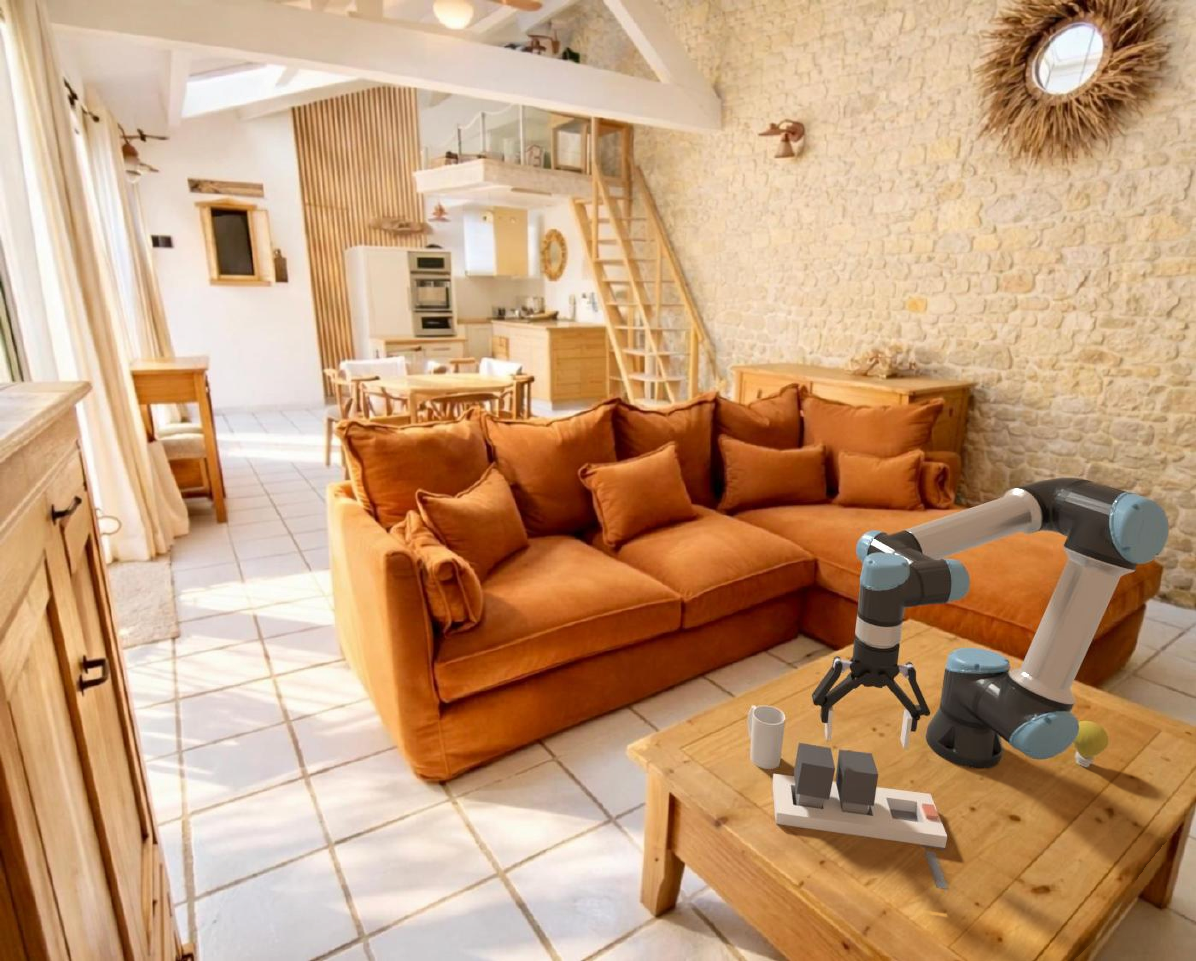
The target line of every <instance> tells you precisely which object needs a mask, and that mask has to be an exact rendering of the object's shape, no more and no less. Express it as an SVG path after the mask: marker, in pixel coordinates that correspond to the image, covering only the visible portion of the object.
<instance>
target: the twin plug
mask: <svg viewBox="0 0 1196 961" xmlns="http://www.w3.org/2000/svg"><path fill="white" fill-rule="evenodd" d="M797 745H798V746H797V750H796V752H797V753H796V758H795V764H794V769H793V776H794V779H795V786H796V791H795V797H794V798H795V805H797V806H804V807H811V808H819V809H822V805H823V799H828V800H829V798H830V793H831V788H832V782H833V781H834V776H835V773H836V767H835V761H834V756H833V753H832V748H831V747H826V746H820V745H815V744H814V745H813V744H808V743H802V742H798V744H797Z"/></svg>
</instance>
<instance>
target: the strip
mask: <svg viewBox="0 0 1196 961" xmlns="http://www.w3.org/2000/svg"><path fill="white" fill-rule="evenodd" d="M771 785H772V795H773V806H774V808H773V809H774V817H775V818H774V819H775V825H781V826H787V827H795V828H802V829H808V830H816V831H821V832H829V833H830V832H831V833H835V834H837V833H838V834H843V835H850V836H858V837H864V838H873V839H880V840H886V841H892V842H899V843H900V842H901V843H906V844H913V845H914V844H915V845H921V846H922V848H923V847H924V848H930V849H936V850H942V851H946V846H947V841H948V834H947V832H946V829H945V827H944V825H943V822H942V820H941V817H940V814H939V812H938V810H937V807H936V804H935V801H934V799H933V798H932V795H931V793H923V792H918V791H917V792H916V791H911V790H909V791H908V790H903V789H902V790H901V789H893V788H886V787H878V786H877V788H876V794H875V801H874V806H868V809H867V815H863V814H855V813H848V812H842V808H841V804H840V799H839V794H838V790H837V785H836V781H835V780H833V782H832V788H831V793H830V798H829V800H828V799H823V805H822V809H819V808H811V807H804V806H797V805H795V798H794V797H795V791H796V786H795V779H794V775H788V774H787V775H786V774H780V773H779V774H778V773H772V784H771Z"/></svg>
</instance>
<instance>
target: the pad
mask: <svg viewBox="0 0 1196 961" xmlns="http://www.w3.org/2000/svg"><path fill="white" fill-rule="evenodd" d="M923 852H924V855H925V859H926V860H927V863H928V866H929V869H930V873H931V875H932V878H933V881H934V883H935V887H936V888H939V889H944V890H948V889H949V887H948V884H947V881H946V880H945V877H944V873H943V872H942V871H943V870H942V868H941V865H940V862H939V860H938V857H937V855H936V852H935V851H928V850H924V851H923Z"/></svg>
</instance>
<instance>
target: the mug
mask: <svg viewBox="0 0 1196 961" xmlns="http://www.w3.org/2000/svg"><path fill="white" fill-rule="evenodd" d="M785 724H786V715H785V713H784V712H783V711H782V710H781V709H780V708H779V707H775V706H772V705H765V704H764V705H757V706H756V705H755V704H753V705H751V706H750V709H749V712H748V713H747V730H748V732H747V733H748V737H749V739H750V751H749V752H750V754H749V755H750V756H749V757H750V758H749V759H750V761H751V763H752V764H753V765H755V766H757V767H759V768H760V769H764V770H765V769H766V770H773V769H776V768H777V767H779V766H780V763H781V759H782V758H781V757H782V750H783V749H782V748H783V741H784V734H785V726H786V725H785Z"/></svg>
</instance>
